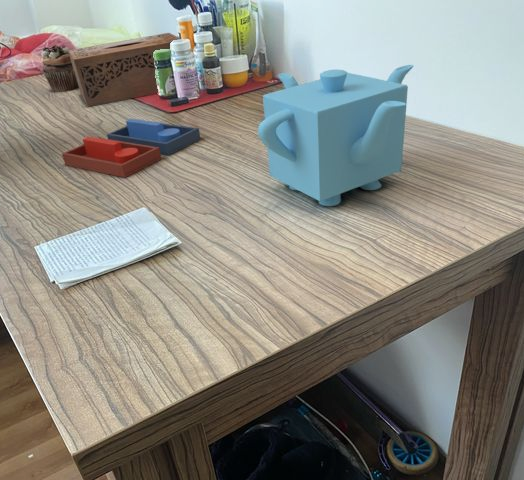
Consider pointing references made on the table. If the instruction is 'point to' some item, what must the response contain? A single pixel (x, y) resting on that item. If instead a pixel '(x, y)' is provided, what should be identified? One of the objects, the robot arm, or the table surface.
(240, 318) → the table surface
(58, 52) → the cupcake
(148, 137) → the blue stepped block
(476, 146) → the table surface
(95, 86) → the tissue box cover
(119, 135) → the blue tray
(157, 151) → the red tray
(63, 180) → the table surface
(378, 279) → the table surface
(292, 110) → the teakettle
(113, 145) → the red block with disc
